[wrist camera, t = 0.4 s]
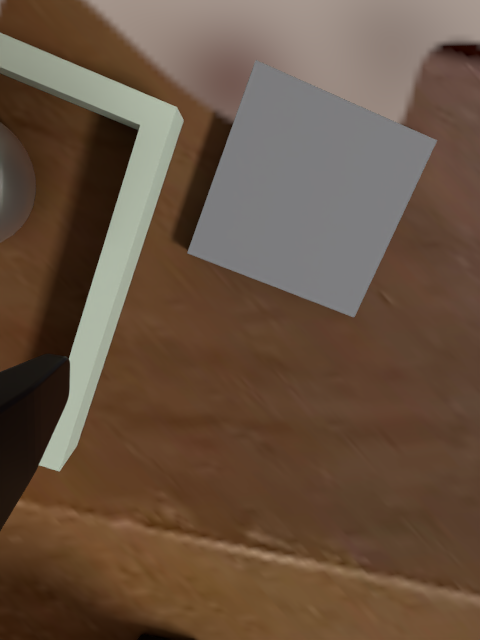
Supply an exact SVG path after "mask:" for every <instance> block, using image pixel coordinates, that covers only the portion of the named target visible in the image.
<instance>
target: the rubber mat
mask: <svg viewBox="0 0 480 640" xmlns="http://www.w3.org/2000/svg"><path fill="white" fill-rule="evenodd" d="M436 142H437V140H435V139H433V138H430V137H428V136H426V135H424V134H421V133H419V132H417V131H415V130H412V129H410V128H408V127H406V126H403V125H401V124H399V123H396V122H394V121H392V120H390V119H387V118H385V117H383V116H381V115H378V114H376V113H374V112H371V111H369V110H367V109H365V108H363V107H360V106H358V105H356V104H354V103H351V102H349V101H347V100H345V99H342V98H340V97H338V96H336V95H333V94H331V93H329V92H327V91H324V90H322V89H320V88H318V87H315V86H313V85H311V84H309V83H306V82H304V81H302V80H300V79H297V78H295V77H293V76H291V75H288V74H286V73H284V72H282V71H279V70H277V69H275V68H272V67H270V66H268V65H266V64H264V63H261V62H259V61H257V60H256V61H255V63H254V66H253V69H252V72H251V75H250V78H249V81H248V83H247V86H246V89H245V92H244V95H243V97H242V100H241V103H240V106H239V109H238V111H237V114H236V117H235V120H234V123H233V125H232V128H231V131H230V134H229V137H228V140H227V142H226V145H225V148H224V151H223V154H222V156H221V159H220V162H219V165H218V168H217V171H216V173H215V176H214V179H213V182H212V185H211V187H210V190H209V193H208V196H207V199H206V202H205V204H204V207H203V210H202V213H201V216H200V218H199V221H198V224H197V227H196V230H195V233H194V235H193V238H192V241H191V244H190V247H189V249H188V252H187V253H188V254H191V255H193V256H196V257H199V258H201V259H204V260H206V261H209V262H212V263H214V264H217V265H219V266H222V267H225V268H227V269H230V270H232V271H235V272H238V273H240V274H243V275H245V276H248V277H250V278H253V279H256V280H258V281H261V282H263V283H266V284H269V285H271V286H274V287H276V288H279V289H282V290H284V291H287V292H289V293H292V294H295V295H297V296H300V297H302V298H305V299H308V300H310V301H313V302H315V303H318V304H321V305H323V306H326V307H328V308H331V309H334V310H336V311H339V312H341V313H344V314H347V315H349V316H352V317H355V315H356V313H357V310H358V308H359V306H360V304H361V302H362V300H363V298H364V295H365V293H366V291H367V289H368V287H369V285H370V283H371V281H372V278H373V276H374V274H375V272H376V270H377V268H378V266H379V263H380V261H381V259H382V257H383V255H384V253H385V251H386V248H387V246H388V244H389V242H390V240H391V238H392V236H393V233H394V231H395V229H396V227H397V225H398V223H399V221H400V219H401V216H402V214H403V212H404V210H405V208H406V206H407V204H408V201H409V199H410V197H411V195H412V193H413V191H414V189H415V186H416V184H417V182H418V180H419V178H420V176H421V174H422V172H423V169H424V167H425V165H426V163H427V161H428V159H429V157H430V154H431V152H432V150H433V148H434V146H435V144H436Z"/></svg>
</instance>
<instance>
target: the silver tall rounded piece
mask: <svg viewBox="0 0 480 640" xmlns="http://www.w3.org/2000/svg"><path fill="white" fill-rule="evenodd" d="M35 194H36V179H35V174H34V169H33V165H32V163H31V160H30V158H29V155H28V153H27V151H26V150H25V148H24V147H23V145H22V143H21V142H20V140H19V139H18V138H17V137H16V136H15V135H14V134H13V133H12V132H11V131H10V129H9V128H7V127H6V126H5V125H3V124H2V123H1V122H0V242H2V241H4V240H5V239H7V238H9V237H11V236H12V235H13V234H15V233H16V232H17V231H18V230H19V229H20V228H21V227H22V226H23V224H24V223H25V221H26V220H27V218H28V217H29V215H30V212H31V210H32V208H33V205H34V200H35Z"/></svg>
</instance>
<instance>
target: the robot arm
mask: <svg viewBox="0 0 480 640" xmlns="http://www.w3.org/2000/svg"><path fill="white" fill-rule="evenodd" d="M69 391H70V361H69V359H68V358H67V357H65V356H60V355H54V354H44V355H42V356H39V357H37V358H34V359H32V360H29V361H27V362H24V363H22V364H19V365H17V366H14V367H12V368H9V369H7V370H4V371H1V372H0V531H1V529H2V527H3V526H4V524H5V522H6V521H7V519H8V517H9V516H10V514H11V512H12V511H13V509H14V507H15V506H16V504H17V502H18V501H19V499H20V497H21V496H22V494H23V492H24V491H25V489H26V487H27V486H28V484H29V482H30V480H31V479H32V477H33V475H34V473H35V472H36V470H37V467H38V465H39V463H40V461H41V459H42V457H43V455H44V452H45V450H46V448H47V446H48V444H49V441H50V439H51V437H52V435H53V433H54V430H55V428H56V426H57V424H58V422H59V419H60V417H61V415H62V413H63V411H64V408H65V406H66V404H67V401H68V397H69ZM137 640H164V639H161V638H157V637H154V636H150V635H145V634H144V635H141V636H139V638H138V639H137Z"/></svg>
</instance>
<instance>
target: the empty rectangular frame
mask: <svg viewBox="0 0 480 640" xmlns="http://www.w3.org/2000/svg"><path fill="white" fill-rule="evenodd" d="M0 73H1V74H3V75H5V76H8V77H10V78H13V79H15V80H18V81H20V82H22V83H25V84H27V85H30V86H32V87H34V88H37V89H39V90H42V91H44V92H47V93H49V94H51V95H54V96H56V97H59V98H61V99H64V100H66V101H68V102H71V103H73V104H76V105H78V106H81V107H83V108H85V109H88V110H90V111H93V112H95V113H98V114H100V115H102V116H105V117H107V118H110V119H112V120H115V121H117V122H119V123H122V124H124V125H127V126H129V127H132V128H134V129H136V130H139V131H138V134H137V137H136V141H135V144H134V147H133V150H132V154H131V157H130V160H129V163H128V167H127V170H126V173H125V177H124V180H123V183H122V186H121V190H120V193H119V196H118V199H117V203H116V206H115V209H114V213H113V216H112V219H111V222H110V226H109V229H108V232H107V235H106V239H105V242H104V245H103V249H102V252H101V255H100V258H99V262H98V265H97V268H96V271H95V275H94V278H93V281H92V285H91V288H90V291H89V294H88V298H87V301H86V304H85V308H84V311H83V314H82V317H81V321H80V324H79V327H78V330H77V334H76V337H75V340H74V344H73V347H72V350H71V353H70V357H69V361H70V391H69V397H68V401H67V404H66V406H65V408H64V411H63V413H62V415H61V417H60V419H59V422H58V424H57V426H56V428H55V430H54V433H53V435H52V437H51V439H50V441H49V444H48V446H47V448H46V450H45V452H44V455H43V457H42V459H41V461H40V463H39V465H40V466H44V467H47V468H50V469H53V470H56V471H59V472H60V470H61V469H62V467H63V466H64V464H65V463H66V461H67V460H68V458H69V457H70V455H71V454H72V452H73V451H74V449H75V448H76V446H77V444H78V441H79V438H80V435H81V432H82V429H83V426H84V423H85V420H86V417H87V414H88V411H89V408H90V405H91V402H92V399H93V396H94V392H95V389H96V386H97V383H98V380H99V377H100V374H101V371H102V368H103V365H104V362H105V359H106V356H107V353H108V350H109V347H110V344H111V341H112V338H113V335H114V331H115V328H116V325H117V322H118V319H119V316H120V313H121V310H122V307H123V304H124V301H125V298H126V295H127V292H128V289H129V286H130V283H131V280H132V277H133V274H134V270H135V267H136V264H137V261H138V258H139V255H140V252H141V249H142V246H143V243H144V240H145V237H146V234H147V231H148V228H149V225H150V222H151V219H152V216H153V213H154V209H155V206H156V203H157V200H158V197H159V194H160V191H161V188H162V185H163V182H164V179H165V176H166V173H167V170H168V167H169V164H170V161H171V158H172V155H173V152H174V148H175V145H176V142H177V139H178V136H179V133H180V130H181V127H182V124H183V121H184V120H183V118H182V116H181V114H180V112H179V110H178V109H177V107H175V106H173V105H170V104H168V103H166V102H163V101H161V100H158V99H156V98H154V97H151V96H149V95H147V94H144V93H142V92H140V91H137V90H135V89H132V88H130V87H128V86H125V85H123V84H121V83H118V82H116V81H113V80H111V79H109V78H106V77H104V76H102V75H99V74H97V73H95V72H92V71H90V70H87V69H85V68H83V67H80V66H78V65H76V64H73V63H71V62H69V61H66V60H64V59H61V58H59V57H57V56H54V55H52V54H50V53H47V52H45V51H42V50H40V49H38V48H35V47H33V46H31V45H28V44H26V43H24V42H21V41H19V40H16V39H14V38H12V37H9V36H7V35H5V34H2V33H0Z"/></svg>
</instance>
